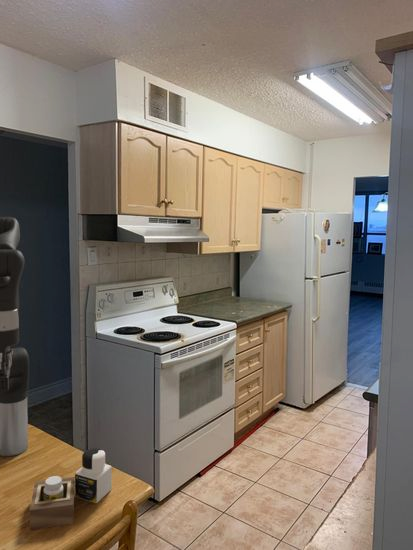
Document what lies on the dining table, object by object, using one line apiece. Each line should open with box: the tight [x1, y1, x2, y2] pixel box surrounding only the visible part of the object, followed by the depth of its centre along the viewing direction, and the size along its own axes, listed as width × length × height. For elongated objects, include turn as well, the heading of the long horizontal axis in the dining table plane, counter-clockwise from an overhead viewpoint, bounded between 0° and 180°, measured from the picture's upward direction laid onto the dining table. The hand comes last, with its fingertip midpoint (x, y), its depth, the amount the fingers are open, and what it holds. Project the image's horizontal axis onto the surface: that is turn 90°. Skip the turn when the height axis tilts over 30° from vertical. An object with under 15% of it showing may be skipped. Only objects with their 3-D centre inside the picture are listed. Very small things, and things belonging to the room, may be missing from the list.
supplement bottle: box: [44, 475, 63, 501], centre depth 109 cm, size 5×5×8 cm
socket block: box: [29, 476, 76, 531], centre depth 109 cm, size 12×10×5 cm
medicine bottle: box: [74, 447, 113, 504], centre depth 117 cm, size 7×7×12 cm
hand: (3, 390), depth 113 cm, fingers closed
